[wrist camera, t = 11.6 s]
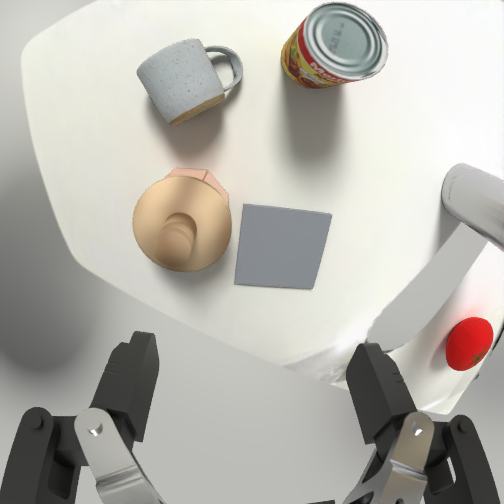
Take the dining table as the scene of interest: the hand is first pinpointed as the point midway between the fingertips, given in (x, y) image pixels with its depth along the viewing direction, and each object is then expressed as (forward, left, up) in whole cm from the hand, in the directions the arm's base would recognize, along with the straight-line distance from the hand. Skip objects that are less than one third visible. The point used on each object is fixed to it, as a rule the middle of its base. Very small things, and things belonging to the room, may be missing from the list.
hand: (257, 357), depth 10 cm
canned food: (-7, -17, -28) cm, 33 cm away
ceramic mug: (+7, -12, -28) cm, 32 cm away
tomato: (-57, +27, -28) cm, 69 cm away
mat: (-7, +9, -28) cm, 30 cm away
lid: (+6, +4, -22) cm, 23 cm away
